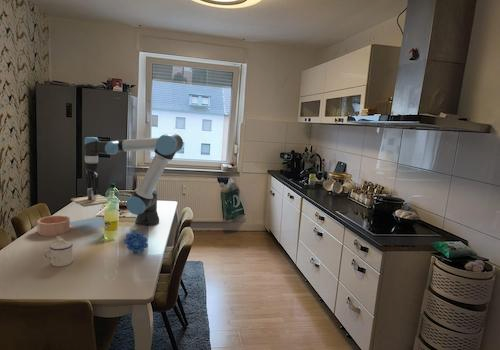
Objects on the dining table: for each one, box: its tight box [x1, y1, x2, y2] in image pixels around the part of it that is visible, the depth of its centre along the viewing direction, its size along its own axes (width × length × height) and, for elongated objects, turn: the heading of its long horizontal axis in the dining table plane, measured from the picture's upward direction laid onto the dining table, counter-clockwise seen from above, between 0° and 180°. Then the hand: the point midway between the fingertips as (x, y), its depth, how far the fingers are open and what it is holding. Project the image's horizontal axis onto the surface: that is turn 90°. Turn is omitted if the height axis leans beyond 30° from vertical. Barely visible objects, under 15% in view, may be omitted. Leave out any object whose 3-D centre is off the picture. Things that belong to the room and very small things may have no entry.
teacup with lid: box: [42, 238, 73, 268], centre depth 155 cm, size 12×9×12 cm
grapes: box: [124, 230, 149, 254], centre depth 171 cm, size 12×7×12 cm, turn 105°
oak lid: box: [70, 189, 108, 208], centre depth 207 cm, size 18×18×7 cm
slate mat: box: [70, 216, 105, 233], centre depth 210 cm, size 22×22×1 cm
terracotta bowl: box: [36, 215, 71, 237], centre depth 194 cm, size 16×16×7 cm
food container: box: [118, 191, 132, 201], centre depth 256 cm, size 12×6×10 cm, turn 84°
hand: (92, 198), depth 208 cm, fingers closed on oak lid, 4 cm apart
